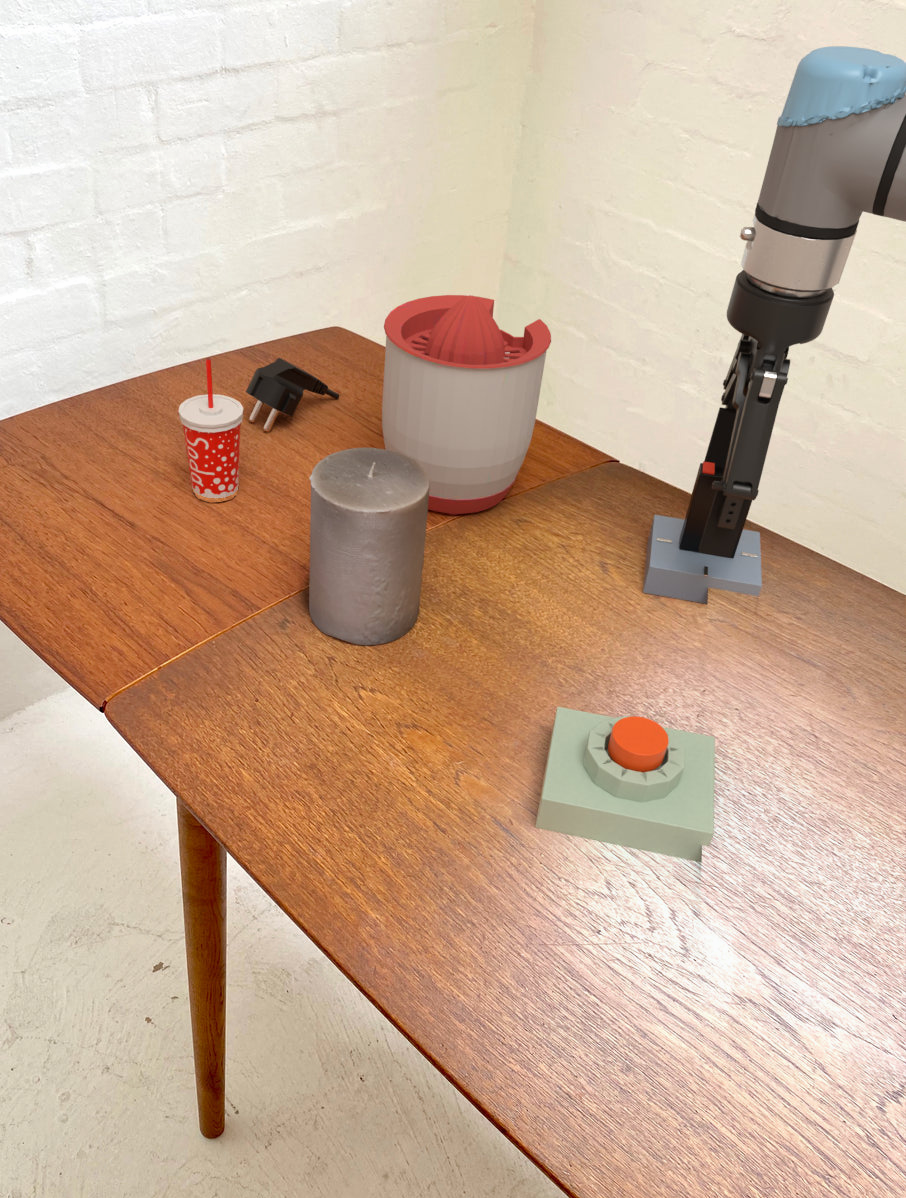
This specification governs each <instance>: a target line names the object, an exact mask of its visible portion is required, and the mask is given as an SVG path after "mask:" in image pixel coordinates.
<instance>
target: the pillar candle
mask: <svg viewBox="0 0 906 1198" xmlns="http://www.w3.org/2000/svg"><path fill="white" fill-rule="evenodd" d="M308 480H309V481H310V519H309V520H310V524H309V525H310V527H309V530H310V531H309V536H310V537H309V582H308V585H309V587H308V589H309V590H308V591H309V593H308V610H309V611H308V612H309V616H310V618H311V621H312V622H313V624H314V626H315V627H316V628H317V629H318V631H320V632H321V633H323V634H325V635H326V636H329V637H333V638H335V639H338V640H341V641H343V642H344V641H345V642H347V643H350V644H354V645H357V646H378V645H383V644H388V643H391V642H393V641H396V640H398V639H400V638H402V637H403V636H405V635H407V633H409V632H410V631H411V629H412V628H413V627H414V625H415V624H416V622H417V620H418V617H419V613H420V602H421V601H420V600H421V591H422V583H423V582H422V581H423V580H422V579H423V569H424V562H425V547H426V535H427V524H428V512H429V509H428V501H429V490H430V481H429V477H428V474H427V472H426V471H425V469H424V467H422V466H421V465H420V464H419V463H417V462H416V461H415V460H413V459H411V458H410V457H407V456H405V455H403V454H400V453H397V452H393V451H390V450H386V449H384V448H377V447H353V448H347V449H343V450H339V451H337V452H334V453H333V452H332V453H331V454H329V455H326V456H325V457H324V458H322V459H321V460H319V461H318V463H316V464H315V466H314V467H313V469H312V471H311V475H310V476H309V478H308Z"/></svg>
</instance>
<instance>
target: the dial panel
mask: <svg viewBox="0 0 906 1198" xmlns="http://www.w3.org/2000/svg"><path fill="white" fill-rule="evenodd" d="M684 520H685V518H678V517H671V516H666V515H662V514H661V515H660V514H653V518H652V522H651V526H650V531H649V534H648V538H647V545H646V554H645V555H646V556H645V564H644V565H645V566H644V576H643V585H642V586H643V587H642V593H643V594H648V595H654V596H658V597H665V598H669V599H675V600H676V599H677V600H682V601H687V602H694V603H698V604H705V605H708V603H709V601H708V600H709V588H710V589H715V590H721V591H727V592H732V593H737V594H738V593H739V594H743V595H750V596H753V597H754V596H755V597H759V596H760V593H761V590H762V588H763V578H762V577H763V576H762V550H761V532H760V531H756V530H749V529H744V528H743V531H742V534H741V537H740V540H739V543H738V547H737V550H736V553H735V556H734V558H728V557H722V556H716V555H711V554H705V553H699V552H693V551H688V550H682V549H679V541H680V535H681V531H682V528H683V524H684Z"/></svg>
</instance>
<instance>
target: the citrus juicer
mask: <svg viewBox="0 0 906 1198" xmlns="http://www.w3.org/2000/svg"><path fill="white" fill-rule="evenodd" d="M494 307H495V299H493V298H487V297H483V296H476V295H471V294H470V295H467V294H462V295H461V294H445V295H442V294H441V295H432V296H425V297H419V298H416V299H413V300H409V301H405V302H404V303H402V304H400V305H398V306H396V307H395V308H394V309H392V310H391V311H390V312H389V313H388V314H387V316H386V317H385V319H384V323H383V330H384V334H385V351H384V352H385V354H384V367H383V368H384V369H383V370H384V371H383V384H382V385H383V387H382V404H381V429H382V436H383V443H384V448H385V449H386V450H390V451H393V452H397V453H400V454H403V455H405V456H407V457H410V458H411V459H413V460H415V461H416V462H417V463H419V464H420V465H421V466H422V467H424V469H425V471H426V472H427V474H428V477H429V481H430V490H429V501H428V511H433V512H439V513H445V514H448V515H451V516H456V515H460V514H462V515H463V514H473V513H478V512H482V511H486V510H488V509H490V508H493V507H495V506H496V505H498V504H499V503H501V502H502V500H503V499H504V498H505V497H506V496H507V494H508V492H509V491H510V490H511V488H512V487H513V485H514V484H515V482H516V480H517V477H518V474H519V472H520V469H521V467H522V466H523V463H524V460H525V458H526V456H527V453H528V450H529V447H530V445H531V442H532V437H533V433H534V429H535V425H536V420H537V415H538V414H537V413H538V407H539V401H540V394H541V387H542V382H543V375H544V371H545V363H546V357H547V352H548V351H547V350H548V349H549V348H550V347H551V346H550V345H551V344H552V334H551V330H550V329H549V327H548V325H547V324H546V323H545V322H544V321H543V320H542V319H541V318H538V319H537V320H535V321H533V322H531V323H529V324H527V325H526V326H524V329H523V336H513V335H512V334H510V333H508V332H506V331H505V330H503V329H501V328H500V327H499V325H498V324H497V322H496V320H495V319H494Z"/></svg>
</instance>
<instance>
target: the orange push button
mask: <svg viewBox="0 0 906 1198" xmlns="http://www.w3.org/2000/svg"><path fill="white" fill-rule="evenodd" d="M631 716H632V715H631ZM660 725H661V724H659V723H658V722H656V721H654V720H652V719H650V718H647V717H643V716H636V715H635V716H634V715H633V716H632V717H626V718H623V719H620V720H619V721H617V722H616V723H615V725H614V726H613V729H612V732H611V736H610V740H609V744H608V752H609V755H610V757H611V758H612V760H613V761H614V762H615V763H617V764H618V765H620V766H621V767H623V768H625V769H628V770H633V771H638V772H649V771H652V770H655V769H656V768H658V767H659V766H660V765H661V764H662V762H663V759H664V756H665V753H666V749H667V746H668V742H669V739H668V735H667V733H666V731H665V730H664V729H663V728H662V727H661V726H662V725H661V726H660Z"/></svg>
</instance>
